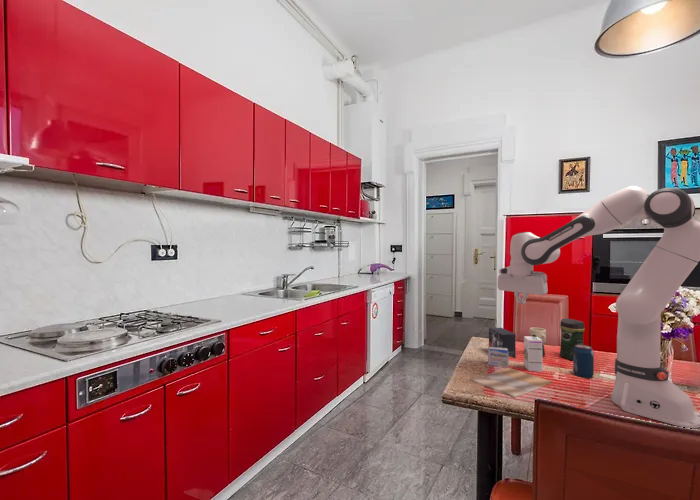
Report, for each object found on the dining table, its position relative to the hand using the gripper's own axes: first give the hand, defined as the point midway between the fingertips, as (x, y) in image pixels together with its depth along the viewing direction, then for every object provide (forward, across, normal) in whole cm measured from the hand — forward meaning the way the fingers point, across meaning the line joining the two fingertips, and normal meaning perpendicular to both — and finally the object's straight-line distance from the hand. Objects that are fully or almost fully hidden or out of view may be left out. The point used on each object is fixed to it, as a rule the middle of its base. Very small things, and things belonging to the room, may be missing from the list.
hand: (521, 303), depth 142 cm
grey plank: (+29, -6, +17) cm, 34 cm away
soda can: (+29, -16, -18) cm, 38 cm away
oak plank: (+29, -6, +9) cm, 31 cm away
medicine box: (+29, +8, +4) cm, 31 cm away
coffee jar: (+29, -3, -38) cm, 48 cm away
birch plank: (+29, -6, +25) cm, 39 cm away
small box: (+29, +18, -14) cm, 37 cm away
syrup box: (+29, -3, -4) cm, 30 cm away
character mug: (+29, +8, -28) cm, 41 cm away
